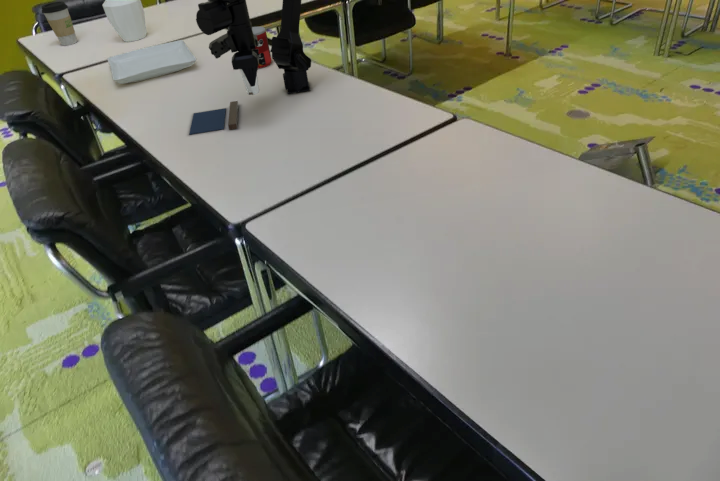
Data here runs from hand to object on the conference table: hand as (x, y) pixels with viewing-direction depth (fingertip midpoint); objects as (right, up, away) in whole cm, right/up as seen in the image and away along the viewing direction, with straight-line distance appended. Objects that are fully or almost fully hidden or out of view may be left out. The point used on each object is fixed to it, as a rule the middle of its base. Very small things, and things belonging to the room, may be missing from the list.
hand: (252, 83), depth 139 cm
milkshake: (0, -2, +2) cm, 3 cm away
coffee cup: (-92, +40, +79) cm, 127 cm away
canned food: (-4, +16, +35) cm, 39 cm away
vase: (-63, +40, +74) cm, 105 cm away
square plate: (-43, +18, +43) cm, 63 cm away
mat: (-13, -9, +3) cm, 16 cm away
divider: (-6, -8, +4) cm, 11 cm away
